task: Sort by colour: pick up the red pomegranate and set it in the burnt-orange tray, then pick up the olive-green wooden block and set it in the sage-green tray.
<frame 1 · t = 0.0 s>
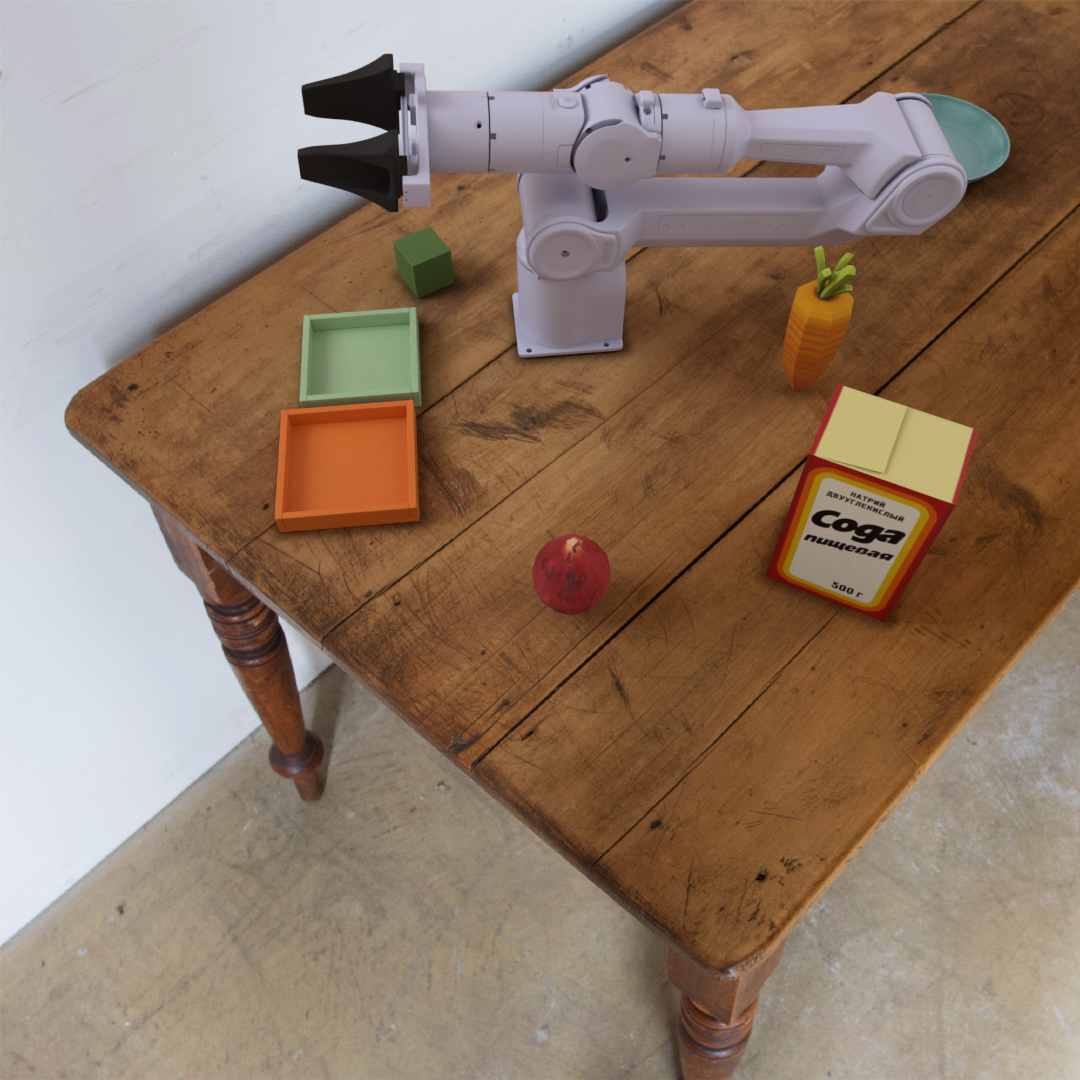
hand: (301, 131, 73), 22 cm above the table, tool horizontal, fingers open, 7 cm apart
red pomegranate: (570, 600, 76), on the table
baking soda box: (835, 566, 78), on the table
carrot: (795, 391, 87), on the table
green tray: (363, 367, 89), on the table
orange tray: (350, 471, 83), on the table
green block: (426, 278, 95), on the table
saucer: (927, 158, 104), on the table
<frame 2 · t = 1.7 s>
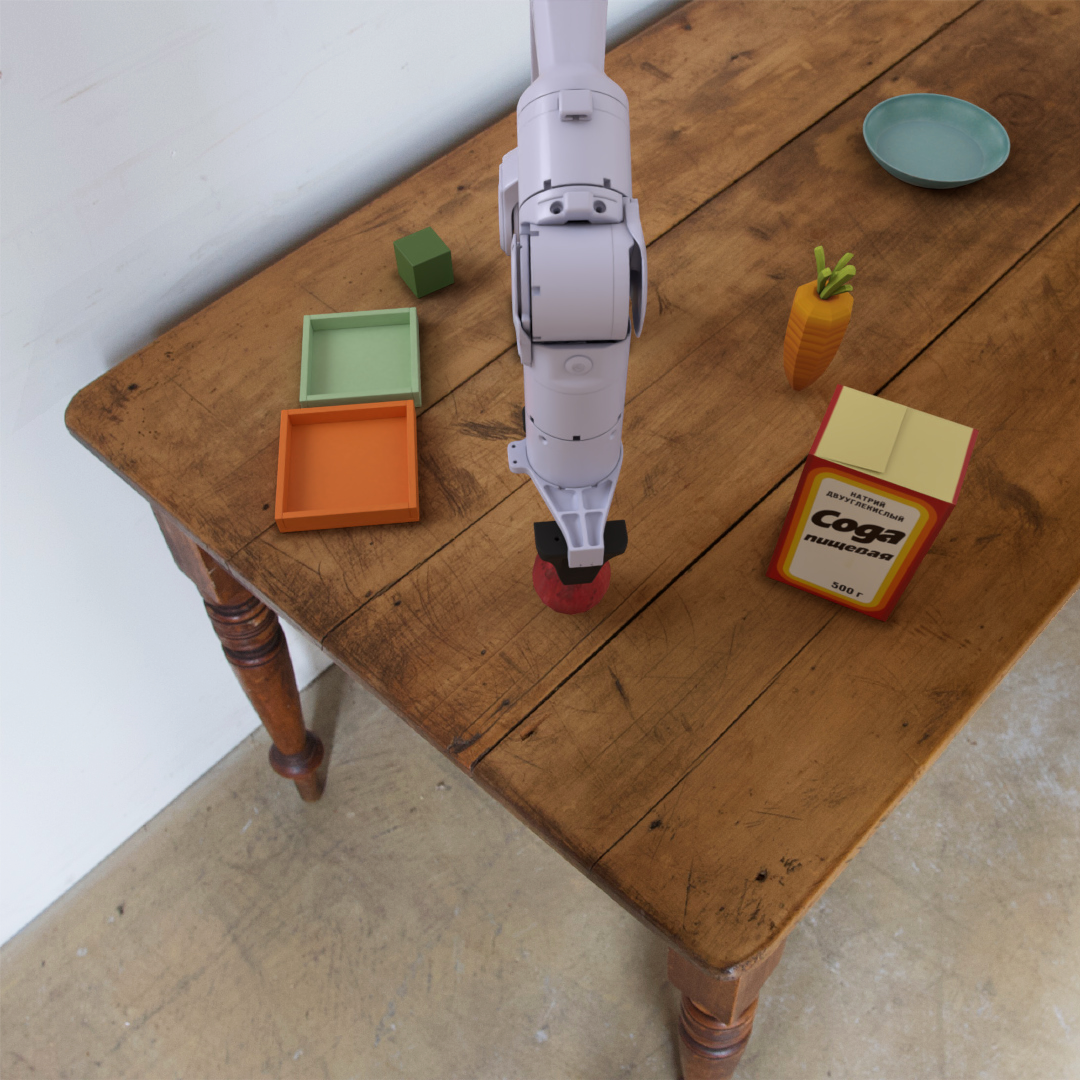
hand: (571, 531, 68), 9 cm above the table, tool pointing down, fingers open, 7 cm apart
nothing on the table moved.
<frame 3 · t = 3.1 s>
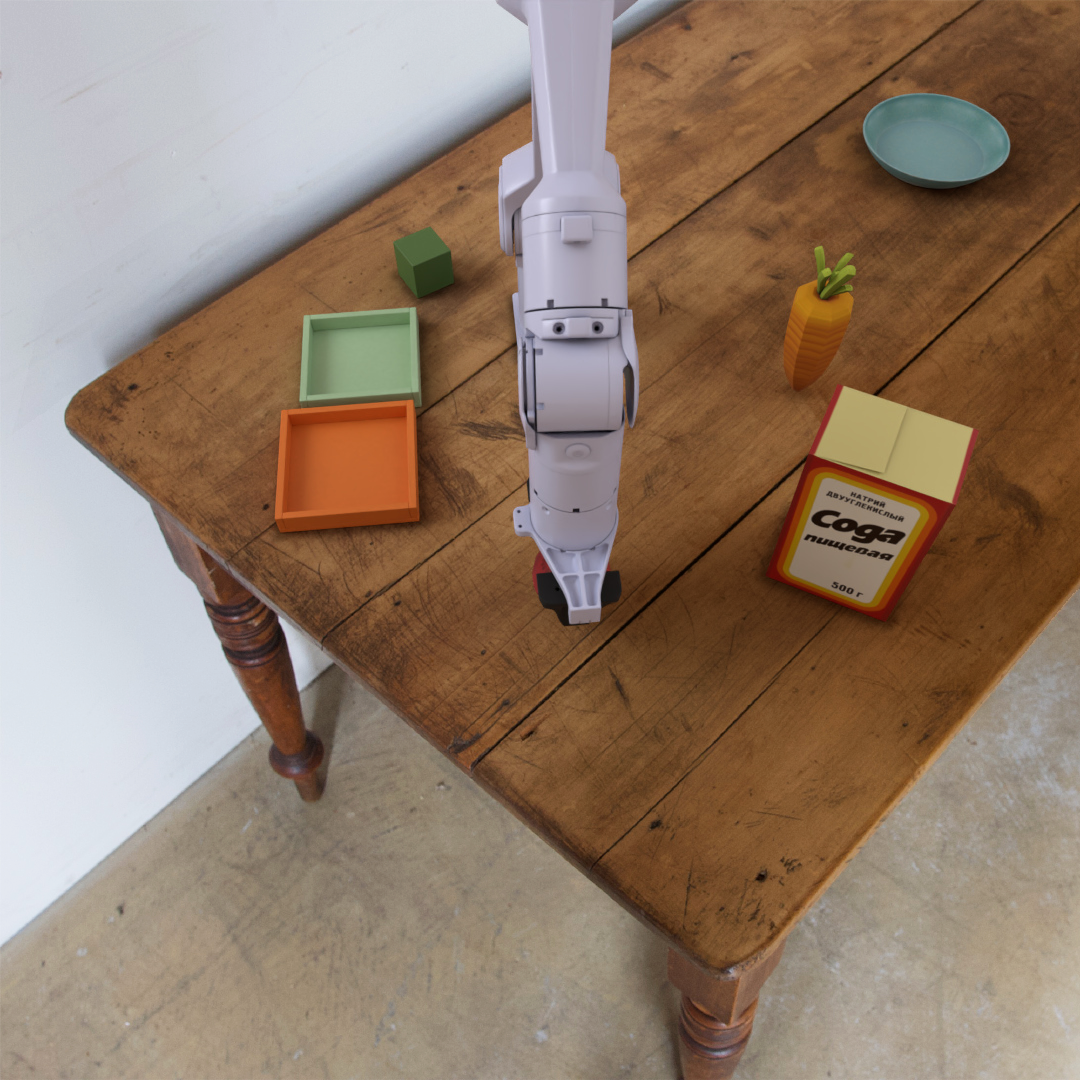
hand: (571, 582, 74), 2 cm above the table, tool pointing down, fingers closed on red pomegranate, 6 cm apart
red pomegranate: (570, 600, 77), on the table, touching gripper
everything else where it was.
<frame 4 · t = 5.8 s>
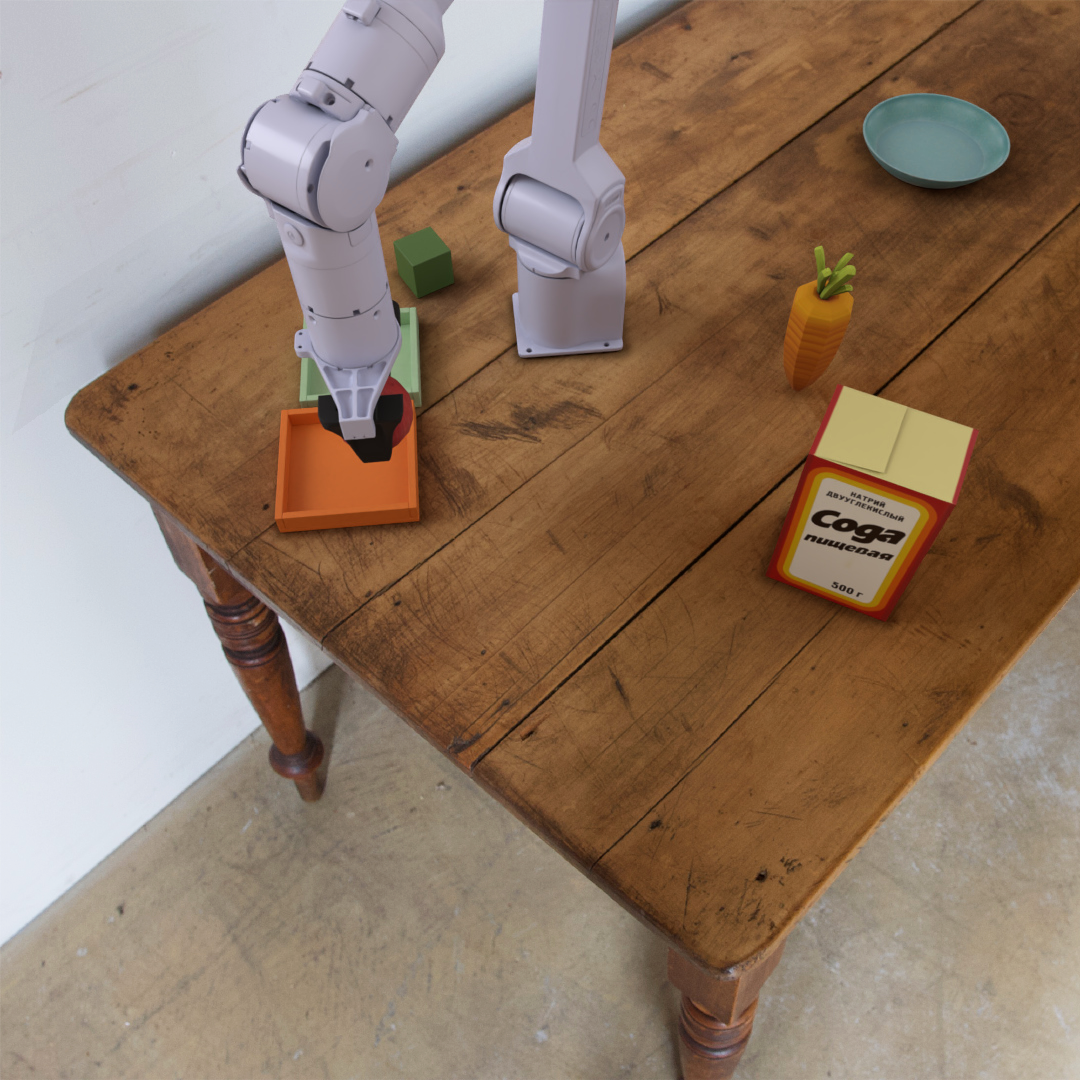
hand: (375, 423, 74), 9 cm above the table, tool pointing down, fingers closed on red pomegranate, 6 cm apart
red pomegranate: (380, 445, 76), point 7 cm above the table, touching gripper
everything else where it was.
when the fingers open (3 cm above the table, at t = 8.5 s): red pomegranate stays where it is, resting on orange tray.
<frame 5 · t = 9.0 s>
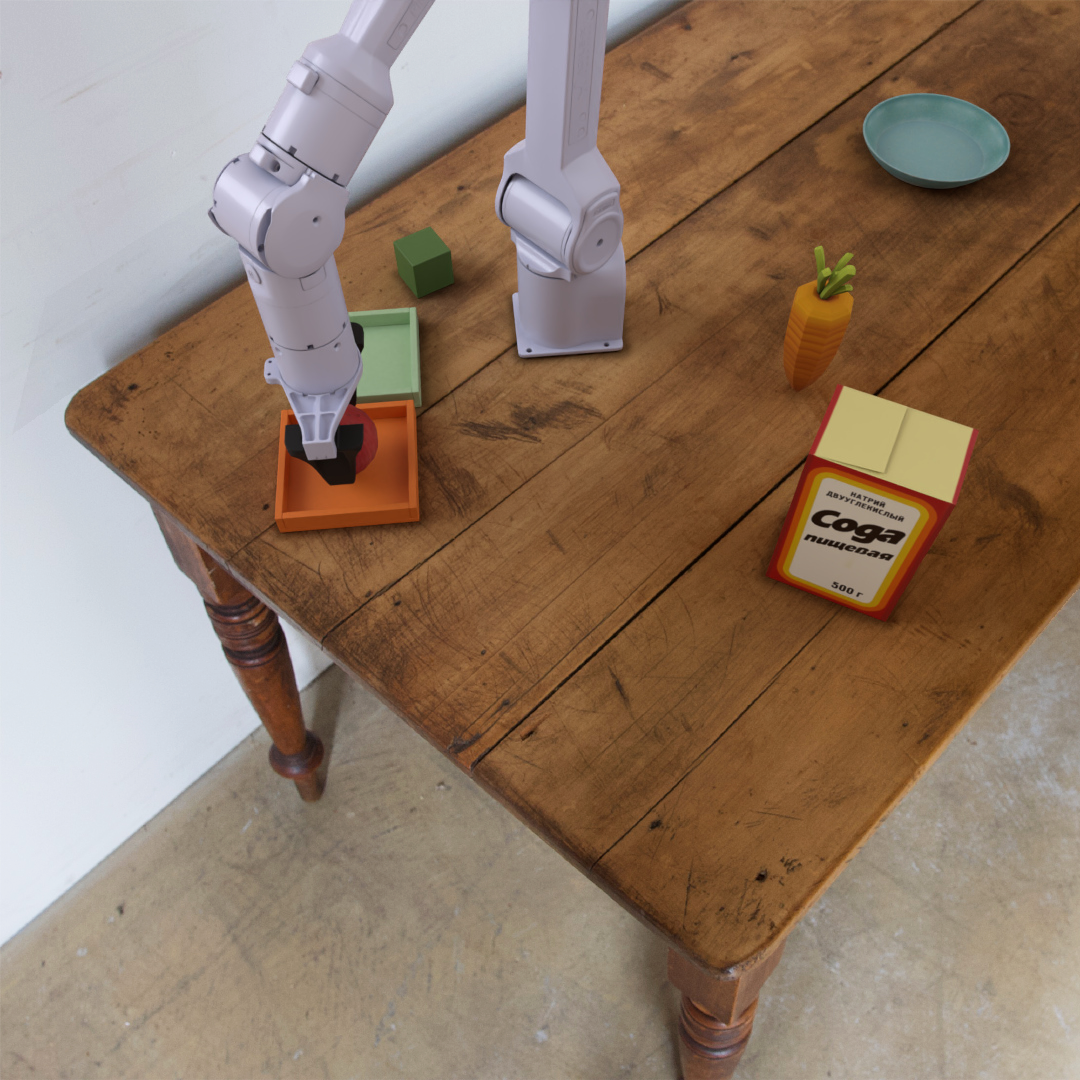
hand: (342, 442, 80), 4 cm above the table, tool pointing down, fingers open, 7 cm apart
red pomegranate: (349, 469, 83), resting on orange tray
everything else where it was.
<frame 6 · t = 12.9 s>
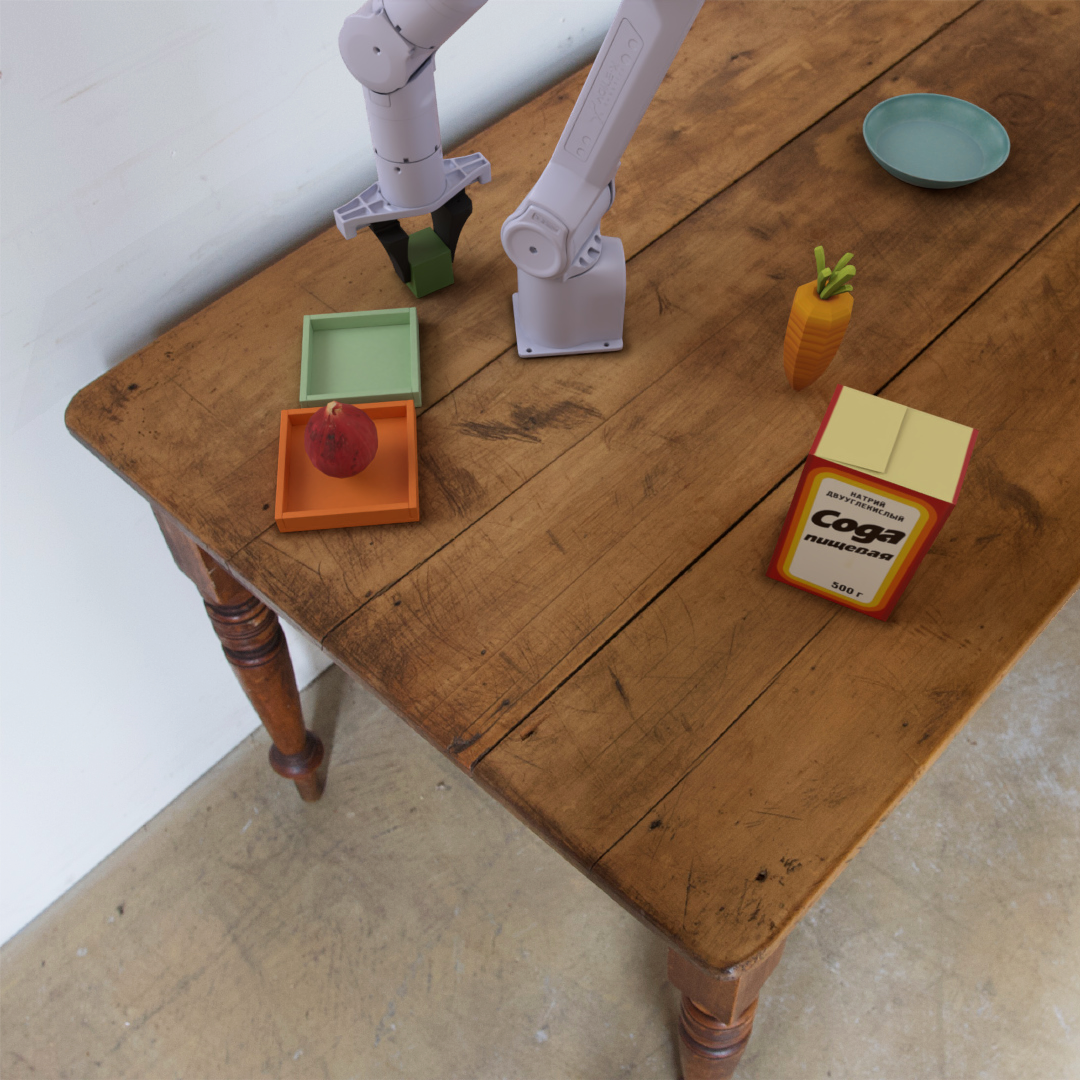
hand: (424, 267, 94), 1 cm above the table, tool pointing down, fingers closed on green block, 4 cm apart
green block: (426, 278, 95), on the table, touching gripper
everything else where it was.
when the fingers open (2 cm above the table, at t = 17.0 s): green block stays where it is, resting on green tray.
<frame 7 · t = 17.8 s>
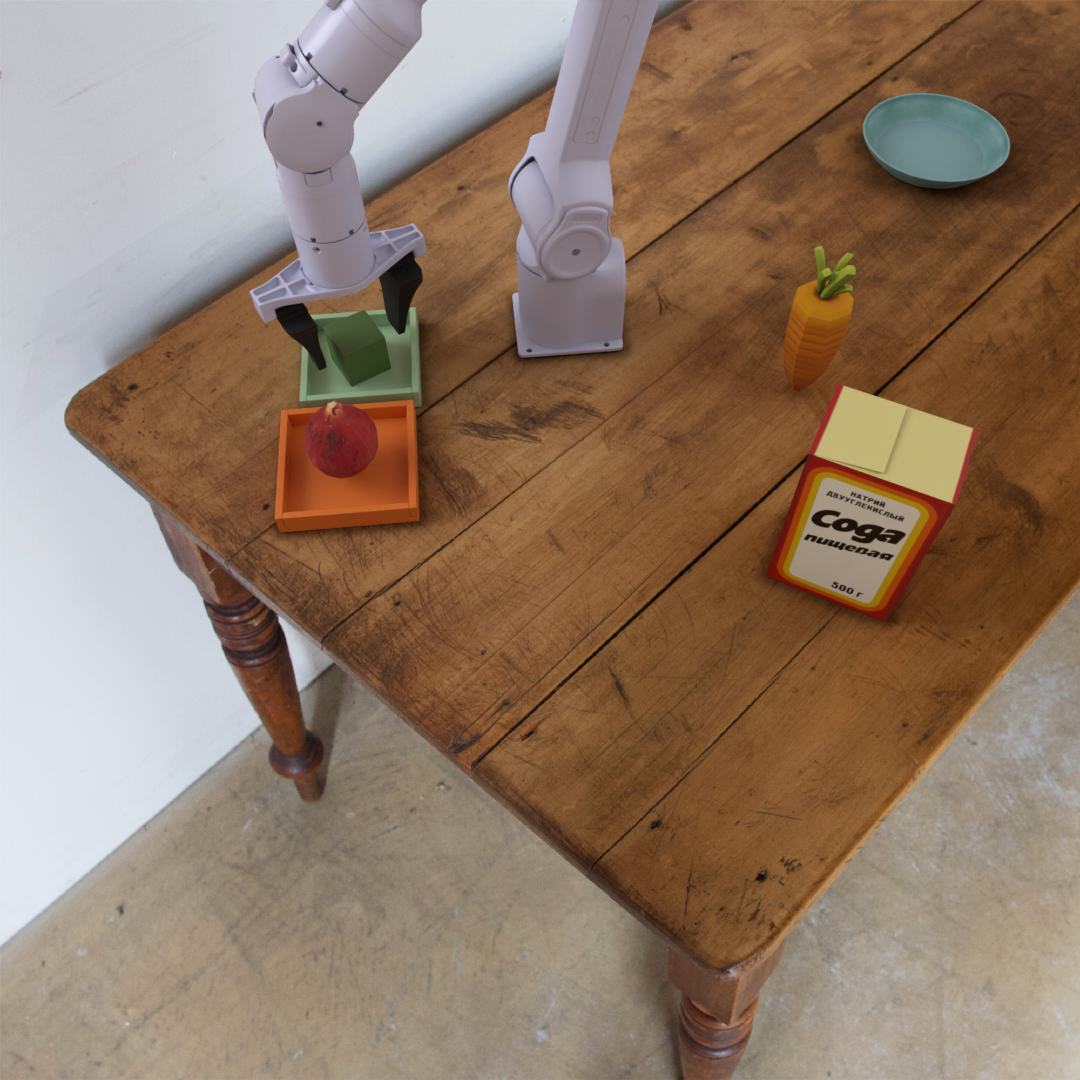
hand: (358, 344, 87), 3 cm above the table, tool pointing down, fingers open, 7 cm apart
green block: (361, 363, 89), resting on green tray
everything else where it was.
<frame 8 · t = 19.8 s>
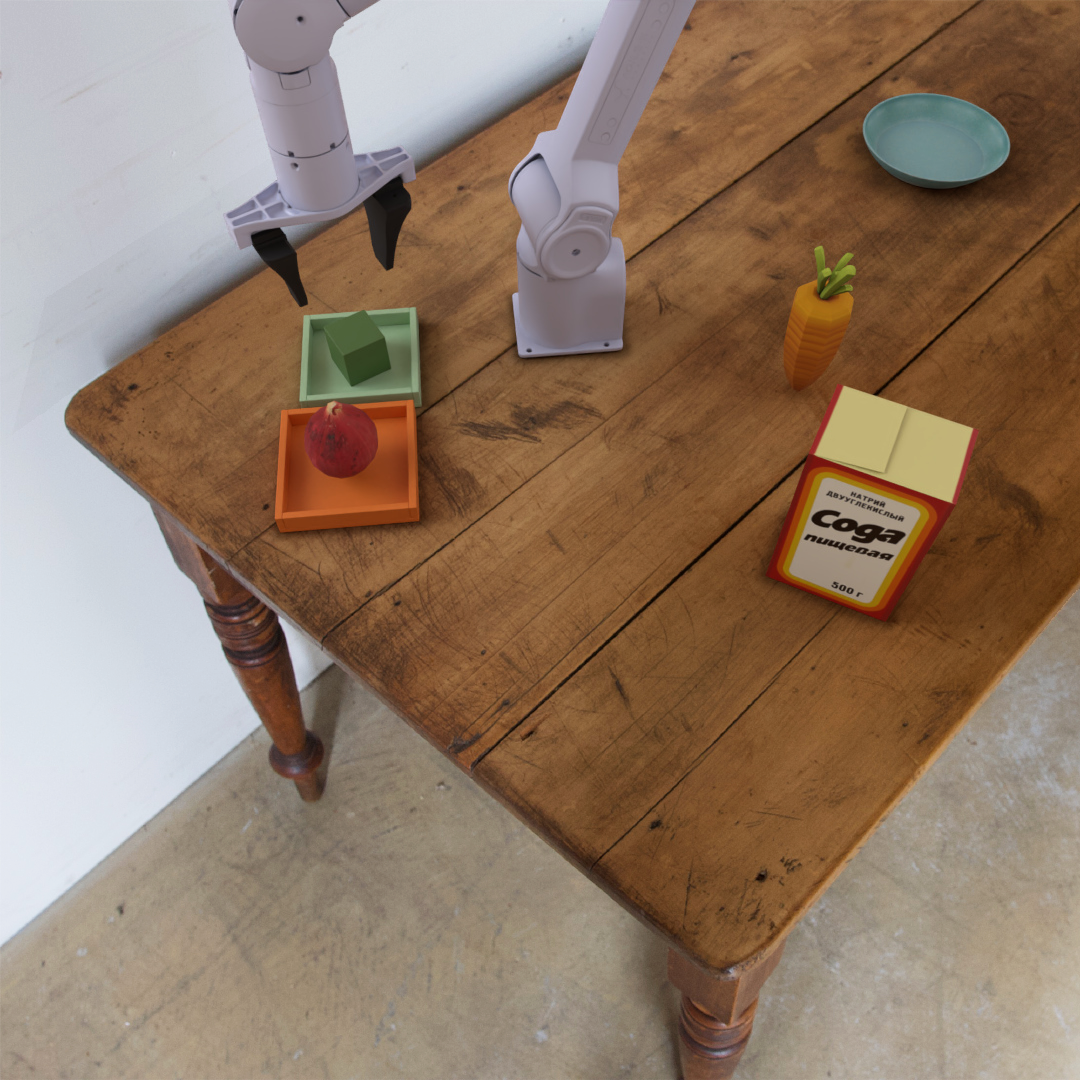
hand: (342, 280, 81), 10 cm above the table, tool pointing down, fingers open, 7 cm apart
nothing on the table moved.
at the end: red pomegranate 0.1 cm off-centre in the orange tray, point 0.3 cm above the orange tray's base; green block 0.1 cm off-centre in the green tray, point 0.5 cm above the green tray's base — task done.
